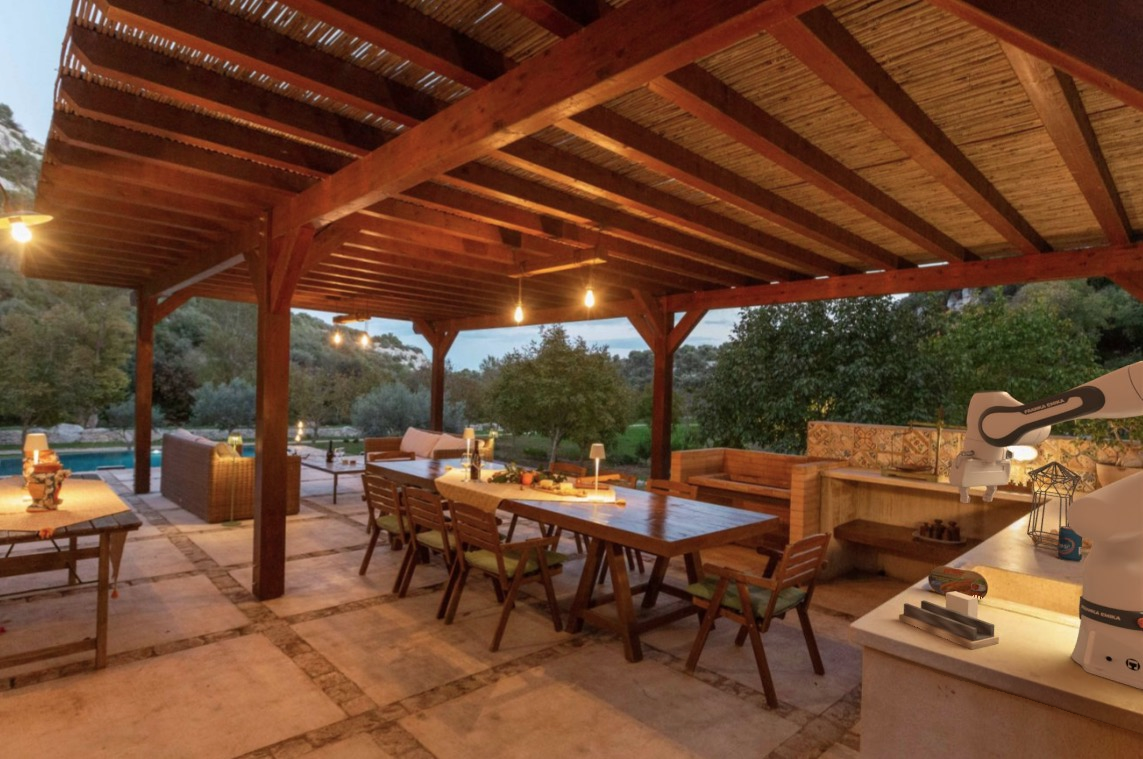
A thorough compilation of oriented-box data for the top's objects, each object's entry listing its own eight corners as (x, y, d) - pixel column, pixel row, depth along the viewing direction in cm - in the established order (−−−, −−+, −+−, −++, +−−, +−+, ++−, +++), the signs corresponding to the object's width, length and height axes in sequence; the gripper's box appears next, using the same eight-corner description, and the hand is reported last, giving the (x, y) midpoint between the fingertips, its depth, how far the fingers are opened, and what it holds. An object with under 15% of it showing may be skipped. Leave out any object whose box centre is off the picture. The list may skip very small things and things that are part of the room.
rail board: (998, 643, 149) (999, 625, 149) (972, 649, 145) (973, 630, 145) (924, 615, 166) (924, 599, 166) (899, 620, 162) (899, 603, 162)
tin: (927, 591, 188) (928, 563, 188) (929, 589, 190) (930, 561, 190) (987, 604, 178) (988, 574, 178) (988, 601, 180) (989, 572, 180)
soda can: (1053, 558, 234) (1054, 526, 234) (1064, 556, 237) (1065, 525, 237) (1075, 563, 228) (1076, 530, 228) (1085, 561, 231) (1086, 529, 231)
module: (977, 621, 164) (977, 598, 164) (967, 623, 162) (968, 600, 162) (954, 613, 169) (955, 591, 169) (945, 615, 168) (946, 592, 168)
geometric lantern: (1031, 540, 262) (1036, 458, 262) (1078, 550, 250) (1084, 463, 250) (1020, 545, 252) (1026, 459, 252) (1069, 555, 240) (1074, 465, 240)
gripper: (969, 453, 157) (962, 507, 158) (1018, 452, 165) (1011, 503, 166) (945, 448, 162) (939, 500, 164) (993, 448, 171) (987, 497, 172)
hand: (976, 501), depth 165 cm, fingers open, 8 cm apart
